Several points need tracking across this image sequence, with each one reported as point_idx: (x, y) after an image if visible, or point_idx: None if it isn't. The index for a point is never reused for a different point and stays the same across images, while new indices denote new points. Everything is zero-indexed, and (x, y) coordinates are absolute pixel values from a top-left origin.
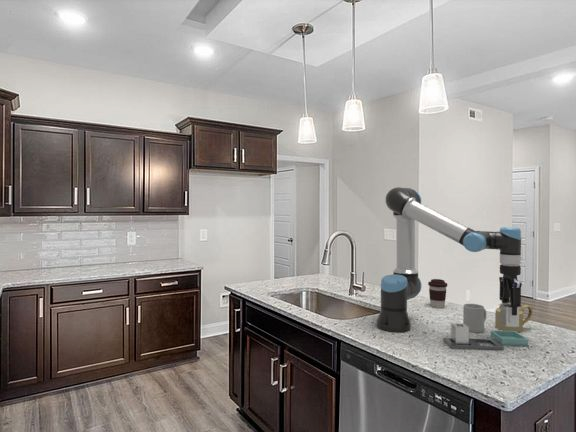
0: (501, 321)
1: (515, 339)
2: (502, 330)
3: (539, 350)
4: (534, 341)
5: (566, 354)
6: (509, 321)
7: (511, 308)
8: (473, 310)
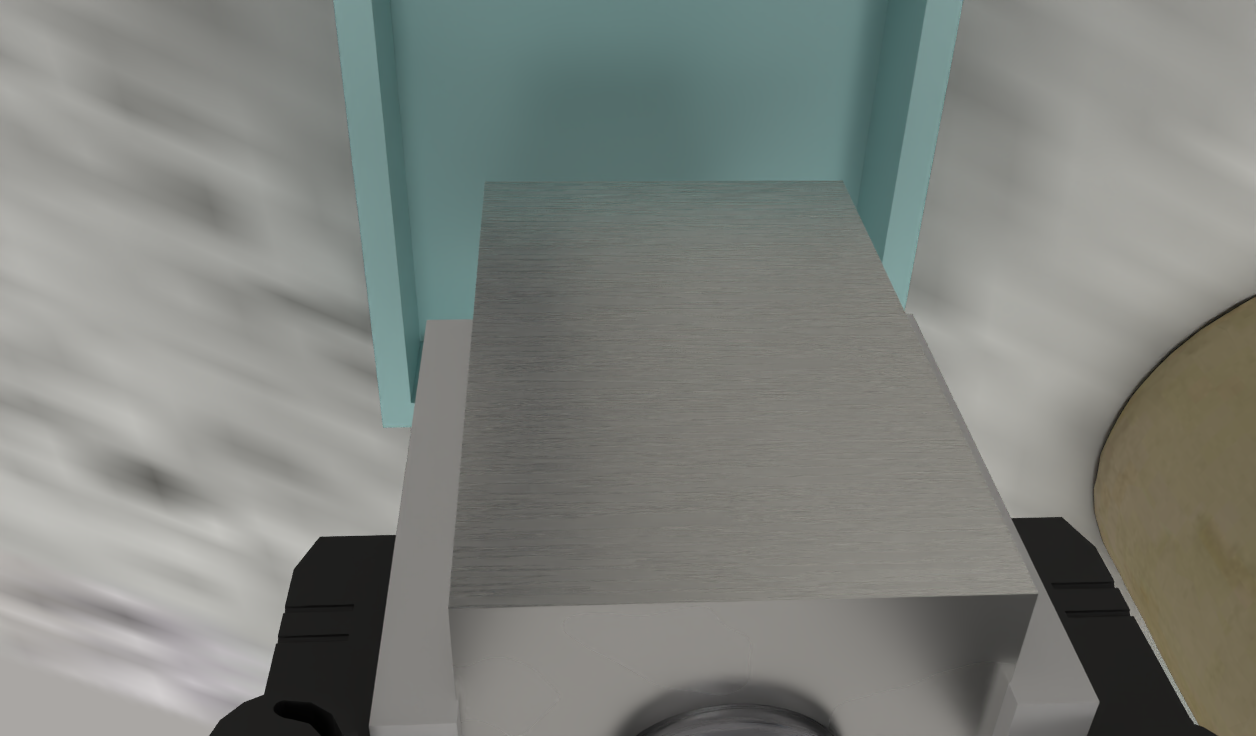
0: (786, 210)
1: (358, 196)
2: (1245, 304)
3: (210, 416)
4: None
5: (131, 657)
6: (461, 337)
7: (383, 706)
8: None
